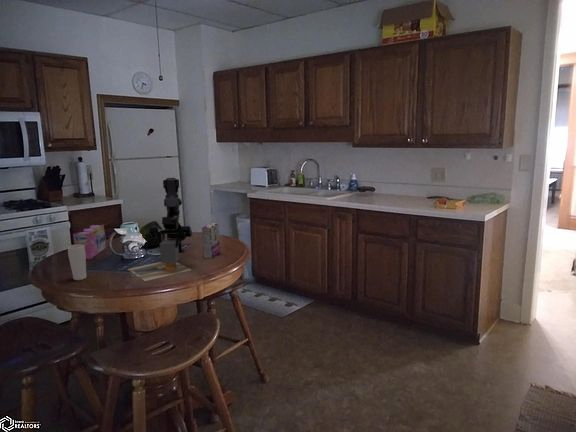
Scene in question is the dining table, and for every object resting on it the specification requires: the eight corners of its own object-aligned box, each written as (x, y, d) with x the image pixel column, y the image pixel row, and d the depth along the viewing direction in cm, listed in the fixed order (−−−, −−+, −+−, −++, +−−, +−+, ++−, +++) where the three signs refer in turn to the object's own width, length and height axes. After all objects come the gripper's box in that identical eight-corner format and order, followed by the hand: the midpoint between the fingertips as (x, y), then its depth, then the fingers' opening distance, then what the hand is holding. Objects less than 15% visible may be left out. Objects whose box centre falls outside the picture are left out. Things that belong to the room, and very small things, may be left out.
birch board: (127, 270, 198) (127, 268, 198) (171, 260, 212) (171, 259, 212) (145, 282, 182) (145, 280, 182) (191, 270, 195) (191, 269, 195)
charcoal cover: (165, 258, 198) (163, 240, 197) (179, 258, 199) (177, 239, 197) (161, 263, 192) (159, 243, 190) (175, 262, 192) (174, 243, 190)
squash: (129, 237, 239) (139, 219, 232) (150, 232, 252) (160, 215, 245) (142, 256, 235) (153, 238, 228) (163, 250, 248) (174, 233, 241)
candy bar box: (211, 252, 224) (209, 222, 221) (220, 252, 223) (218, 222, 220) (203, 258, 214) (201, 227, 210) (212, 259, 213) (210, 227, 209)
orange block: (167, 268, 198) (167, 260, 197) (176, 268, 198) (175, 259, 197) (165, 271, 194) (165, 262, 193) (174, 270, 194) (173, 262, 194)
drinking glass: (75, 276, 191) (71, 244, 188) (90, 275, 192) (86, 243, 189) (69, 281, 185) (64, 248, 182) (85, 280, 185) (80, 247, 182)
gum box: (94, 247, 241) (91, 223, 239) (108, 246, 242) (105, 223, 239) (75, 259, 218) (72, 234, 215) (91, 258, 218) (88, 233, 216)
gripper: (148, 210, 194) (142, 239, 186) (188, 208, 195) (185, 238, 186) (154, 223, 204) (149, 251, 195) (193, 221, 204) (190, 250, 195)
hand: (168, 247), depth 193 cm, fingers closed on charcoal cover, 7 cm apart
